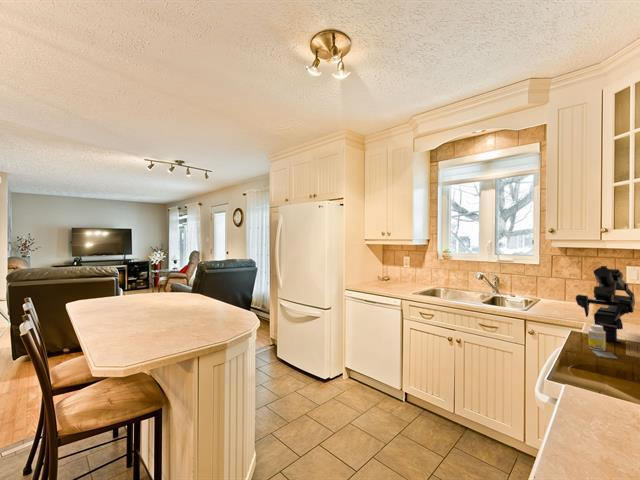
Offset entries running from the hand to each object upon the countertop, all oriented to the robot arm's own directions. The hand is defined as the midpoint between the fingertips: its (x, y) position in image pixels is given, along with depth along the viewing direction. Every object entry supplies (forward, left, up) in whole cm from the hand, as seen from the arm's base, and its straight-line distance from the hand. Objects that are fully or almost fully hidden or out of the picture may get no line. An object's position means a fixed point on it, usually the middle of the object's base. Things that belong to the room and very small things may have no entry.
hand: (600, 318), depth 133 cm
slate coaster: (+12, -3, -12) cm, 18 cm away
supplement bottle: (+5, -3, -13) cm, 14 cm away
